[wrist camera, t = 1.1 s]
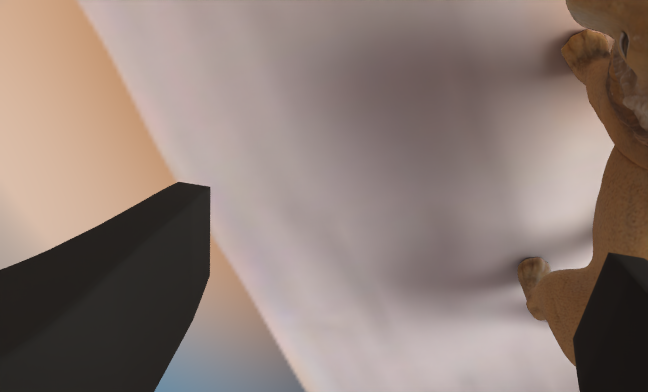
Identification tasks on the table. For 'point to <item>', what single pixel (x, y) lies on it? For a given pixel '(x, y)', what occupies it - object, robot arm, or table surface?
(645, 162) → the lion figurine
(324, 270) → the table surface
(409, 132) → the table surface
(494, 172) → the table surface
